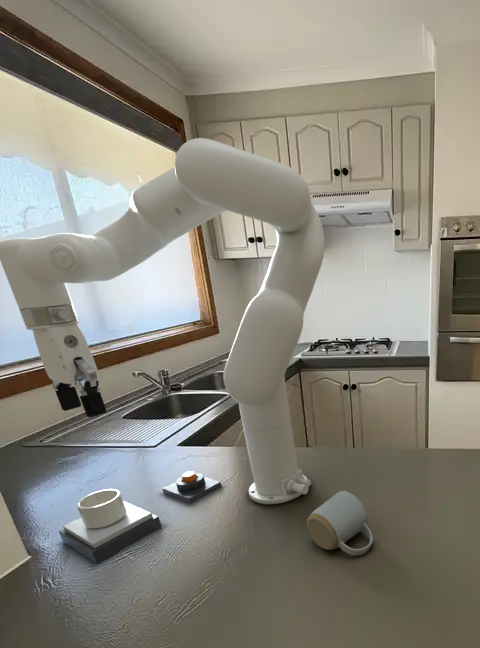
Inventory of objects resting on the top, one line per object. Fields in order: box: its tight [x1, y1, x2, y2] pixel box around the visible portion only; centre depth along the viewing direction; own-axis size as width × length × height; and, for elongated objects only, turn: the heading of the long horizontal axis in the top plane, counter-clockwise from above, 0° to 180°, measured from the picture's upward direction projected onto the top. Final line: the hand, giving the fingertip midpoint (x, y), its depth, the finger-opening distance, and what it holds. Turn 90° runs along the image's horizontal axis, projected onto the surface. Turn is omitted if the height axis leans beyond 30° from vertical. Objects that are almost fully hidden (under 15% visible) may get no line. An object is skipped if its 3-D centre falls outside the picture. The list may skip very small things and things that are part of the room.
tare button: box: [181, 470, 197, 483], centre depth 93 cm, size 3×3×2 cm
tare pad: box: [162, 472, 222, 505], centre depth 94 cm, size 10×8×3 cm
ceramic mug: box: [306, 490, 374, 556], centre depth 71 cm, size 11×8×8 cm
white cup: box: [76, 488, 126, 528], centre depth 78 cm, size 7×7×5 cm
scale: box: [58, 500, 162, 565], centre depth 79 cm, size 13×12×4 cm
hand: (84, 411), depth 79 cm, fingers open, 9 cm apart
